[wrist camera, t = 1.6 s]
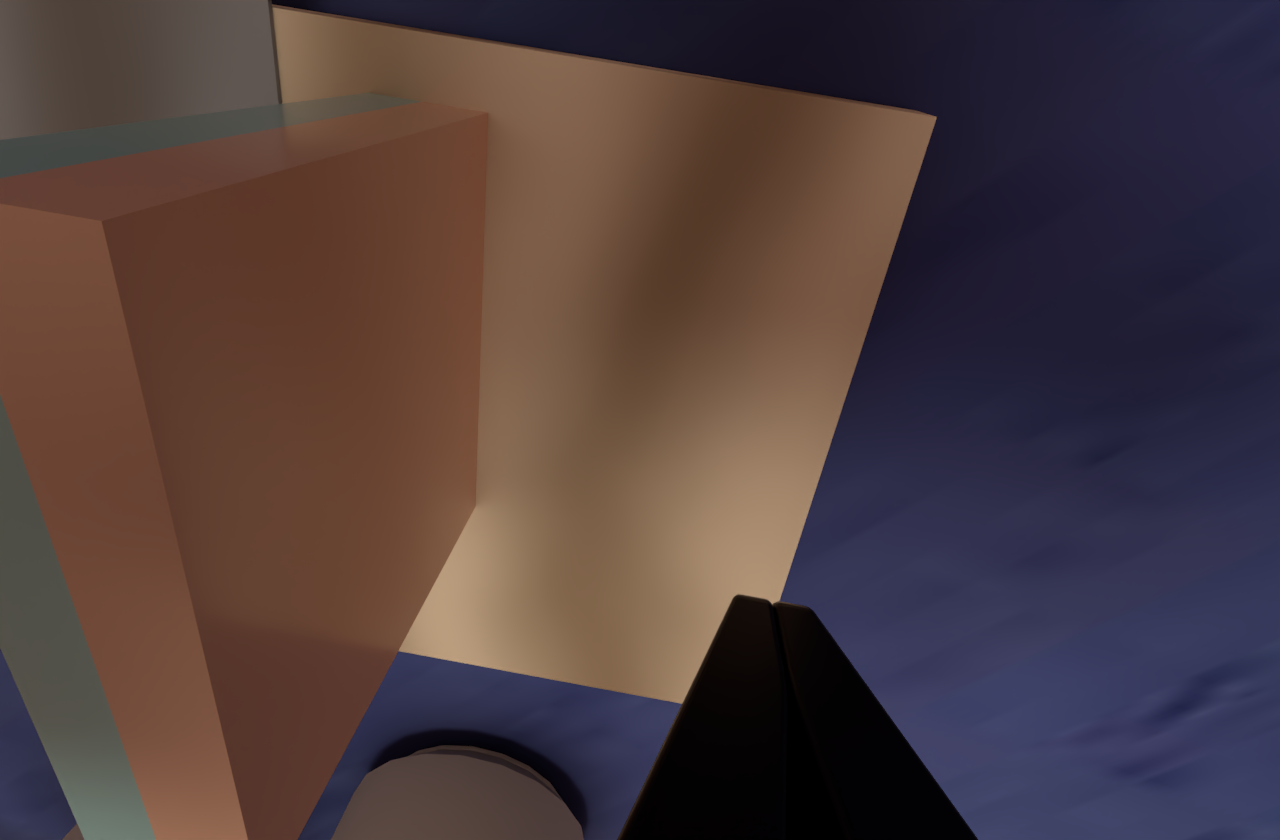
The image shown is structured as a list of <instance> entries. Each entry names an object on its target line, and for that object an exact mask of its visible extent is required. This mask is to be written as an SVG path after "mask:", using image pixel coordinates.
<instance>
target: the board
mask: <svg viewBox="0 0 1280 840" xmlns="http://www.w3.org/2000/svg"><path fill="white" fill-rule="evenodd" d="M361 93H374V94H380V95H386V96H392V97H398V98H404V99H410V100H416V101H422V102H428V103H434V104H440V105H446V106H452V107H458V108H464V109H470V110H476V111H482V112H488V138H487V169H486V200H485V231H484V262H483V293H482V324H481V355H480V386H479V417H478V448H477V479H476V507H475V509H474V511H473V512H472V514H471V516H470V518H469V520H468V522H467V524H466V526H465V527H464V529H463V531H462V533H461V535H460V537H459V539H458V540H457V542H456V544H455V546H454V548H453V550H452V552H451V554H450V555H449V557H448V559H447V561H446V563H445V565H444V567H443V569H442V570H441V572H440V574H439V576H438V578H437V580H436V582H435V583H434V585H433V587H432V589H431V591H430V593H429V595H428V597H427V598H426V600H425V602H424V604H423V606H422V608H421V610H420V612H419V613H418V615H417V617H416V619H415V621H414V623H413V625H412V626H411V628H410V630H409V632H408V634H407V636H406V638H405V640H404V641H403V643H402V645H401V647H400V649H399V651H401V652H407V653H412V654H418V655H423V656H428V657H434V658H439V659H444V660H450V661H455V662H461V663H466V664H471V665H477V666H482V667H488V668H493V669H498V670H504V671H509V672H514V673H520V674H525V675H531V676H536V677H541V678H547V679H552V680H558V681H563V682H568V683H574V684H579V685H584V686H590V687H595V688H601V689H606V690H611V691H617V692H622V693H628V694H633V695H638V696H644V697H649V698H655V699H660V700H665V701H671V702H676V703H681V704H682V703H683V701H684V699H685V697H686V695H687V693H688V691H689V689H690V686H691V684H692V682H693V680H694V678H695V676H696V674H697V672H698V670H699V668H700V666H701V663H702V661H703V659H704V657H705V655H706V653H707V651H708V649H709V647H710V645H711V643H712V640H713V638H714V636H715V634H716V632H717V630H718V628H719V626H720V624H721V622H722V620H723V617H724V615H725V613H726V611H727V609H728V607H729V605H730V603H731V601H732V599H733V597H734V596H735V595H737V594H742V595H748V596H753V597H758V598H764V599H767V600H769V601H770V602H771V603H772V604H773V603H775V602H777V601H780V598H781V594H782V591H783V588H784V585H785V582H786V579H787V576H788V573H789V570H790V567H791V564H792V561H793V558H794V555H795V551H796V548H797V545H798V542H799V539H800V536H801V533H802V530H803V527H804V524H805V521H806V518H807V515H808V512H809V508H810V505H811V502H812V499H813V496H814V493H815V490H816V487H817V484H818V481H819V478H820V475H821V472H822V469H823V465H824V462H825V459H826V456H827V453H828V450H829V447H830V444H831V441H832V438H833V435H834V432H835V429H836V426H837V422H838V419H839V416H840V413H841V410H842V407H843V404H844V401H845V398H846V395H847V392H848V389H849V386H850V383H851V379H852V376H853V373H854V370H855V367H856V364H857V361H858V358H859V355H860V352H861V349H862V346H863V343H864V340H865V336H866V333H867V330H868V327H869V324H870V321H871V318H872V315H873V312H874V309H875V306H876V303H877V300H878V297H879V293H880V290H881V287H882V284H883V281H884V278H885V275H886V272H887V269H888V266H889V263H890V260H891V257H892V254H893V250H894V247H895V244H896V241H897V238H898V235H899V232H900V229H901V226H902V223H903V220H904V217H905V214H906V211H907V207H908V204H909V201H910V198H911V195H912V192H913V189H914V186H915V183H916V180H917V177H918V174H919V171H920V168H921V164H922V161H923V158H924V155H925V152H926V149H927V146H928V143H929V140H930V137H931V134H932V131H933V128H934V125H935V121H936V118H937V117H935V116H932V115H929V114H926V113H923V112H920V111H916V110H910V109H904V108H898V107H892V106H886V105H880V104H873V103H867V102H861V101H855V100H849V99H843V98H837V97H831V96H825V95H819V94H813V93H807V92H801V91H795V90H789V89H783V88H776V87H770V86H764V85H758V84H752V83H746V82H740V81H734V80H728V79H722V78H716V77H710V76H704V75H698V74H692V73H686V72H679V71H673V70H667V69H661V68H655V67H649V66H643V65H637V64H631V63H625V62H619V61H613V60H607V59H601V58H595V57H589V56H583V55H576V54H570V53H564V52H558V51H552V50H546V49H540V48H534V47H528V46H522V45H516V44H510V43H504V42H498V41H492V40H486V39H479V38H473V37H467V36H461V35H455V34H449V33H443V32H437V31H431V30H425V29H419V28H413V27H407V26H401V25H395V24H389V23H382V22H376V21H370V20H364V19H358V18H352V17H346V16H340V15H334V14H328V13H322V12H316V11H310V10H304V9H298V8H292V7H286V6H279V5H273V4H272V1H271V0H0V140H3V139H11V138H19V137H26V136H34V135H42V134H50V133H58V132H65V131H73V130H81V129H89V128H97V127H104V126H112V125H120V124H128V123H135V122H143V121H151V120H159V119H167V118H174V117H182V116H190V115H198V114H206V113H213V112H221V111H229V110H237V109H245V108H252V107H260V106H268V105H276V104H284V103H291V102H299V101H307V100H315V99H322V98H330V97H338V96H346V95H354V94H361Z"/></svg>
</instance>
